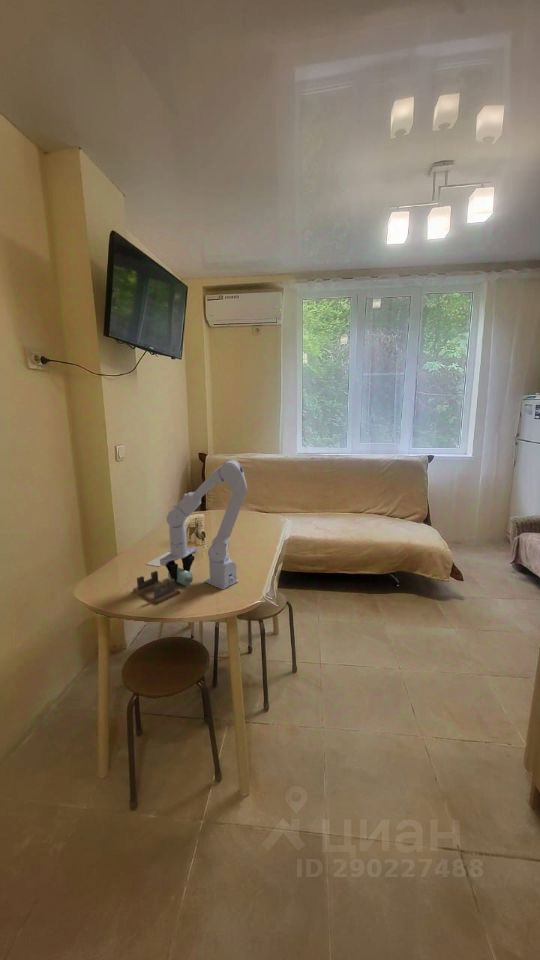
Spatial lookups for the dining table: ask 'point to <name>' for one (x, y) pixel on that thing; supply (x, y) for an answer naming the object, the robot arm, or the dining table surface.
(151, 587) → the holder
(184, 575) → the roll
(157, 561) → the smartphone
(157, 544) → the dining table surface
